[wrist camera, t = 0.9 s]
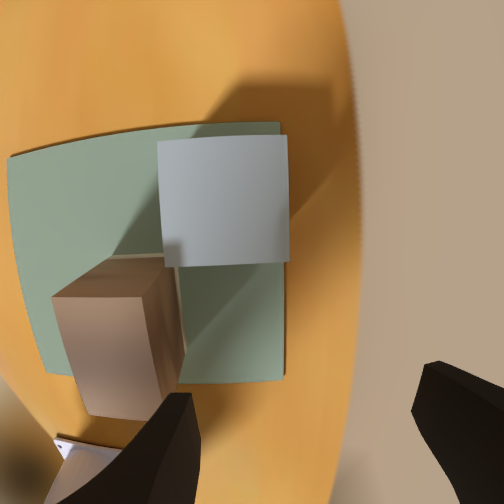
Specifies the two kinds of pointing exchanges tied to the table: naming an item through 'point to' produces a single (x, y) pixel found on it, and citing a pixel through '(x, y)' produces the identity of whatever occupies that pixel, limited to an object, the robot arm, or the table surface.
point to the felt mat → (138, 250)
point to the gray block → (224, 200)
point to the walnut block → (124, 334)
